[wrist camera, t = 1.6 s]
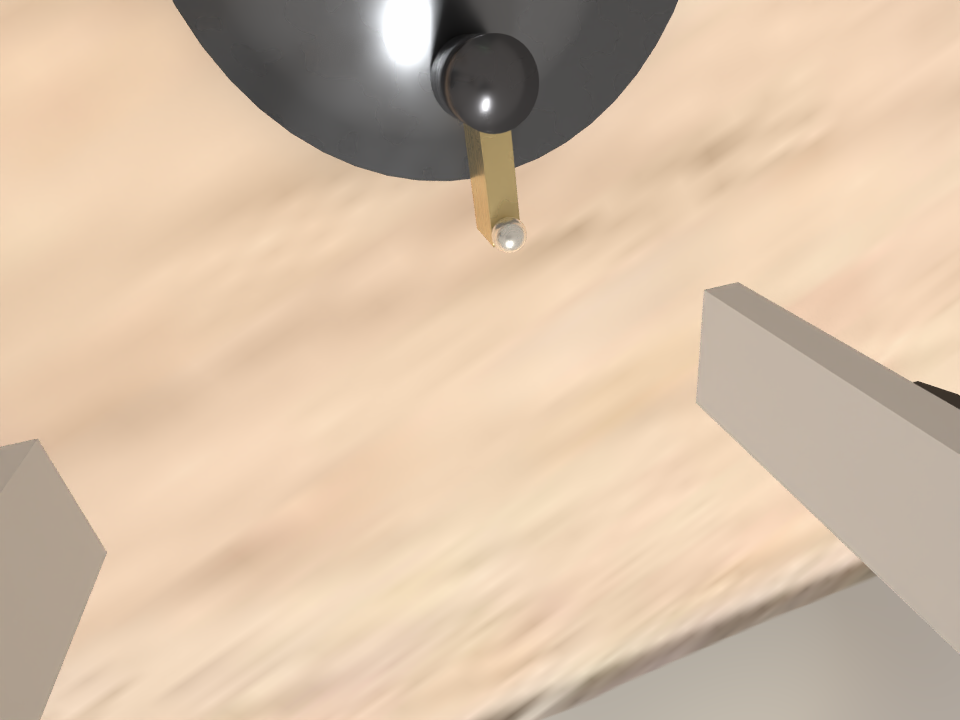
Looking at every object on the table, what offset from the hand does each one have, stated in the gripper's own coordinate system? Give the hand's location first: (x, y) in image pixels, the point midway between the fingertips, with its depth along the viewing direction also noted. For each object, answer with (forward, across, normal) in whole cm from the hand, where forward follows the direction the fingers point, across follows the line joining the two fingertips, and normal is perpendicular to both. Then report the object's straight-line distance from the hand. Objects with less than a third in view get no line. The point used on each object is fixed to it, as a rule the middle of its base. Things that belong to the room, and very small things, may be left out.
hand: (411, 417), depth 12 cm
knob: (+16, +6, +2) cm, 17 cm away
